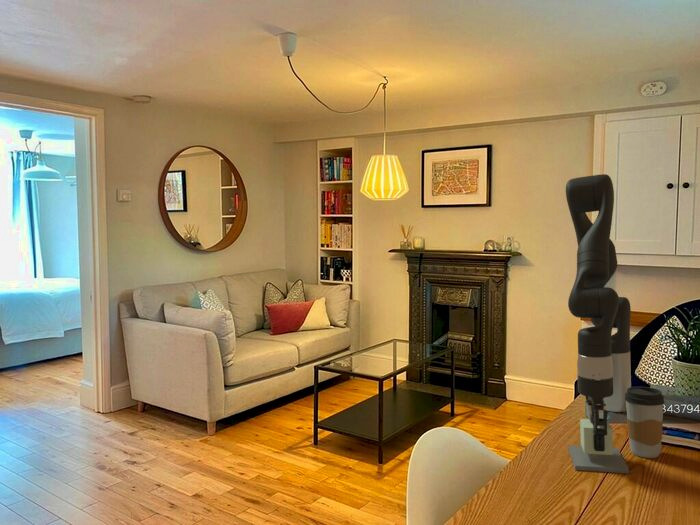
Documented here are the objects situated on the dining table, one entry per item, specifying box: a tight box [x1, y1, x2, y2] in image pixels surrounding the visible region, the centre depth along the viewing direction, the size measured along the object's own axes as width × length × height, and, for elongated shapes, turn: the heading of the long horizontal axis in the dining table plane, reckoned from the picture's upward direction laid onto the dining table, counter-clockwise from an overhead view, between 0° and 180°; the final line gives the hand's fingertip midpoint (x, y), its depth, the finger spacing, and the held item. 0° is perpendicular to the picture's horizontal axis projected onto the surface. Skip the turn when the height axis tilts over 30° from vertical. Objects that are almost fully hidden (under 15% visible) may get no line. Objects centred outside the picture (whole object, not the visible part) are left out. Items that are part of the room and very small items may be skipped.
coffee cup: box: [625, 386, 665, 459], centre depth 130 cm, size 8×8×15 cm
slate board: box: [568, 445, 630, 474], centre depth 127 cm, size 12×11×1 cm
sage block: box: [579, 418, 614, 455], centre depth 127 cm, size 6×6×6 cm
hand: (596, 444), depth 127 cm, fingers closed on sage block, 6 cm apart
